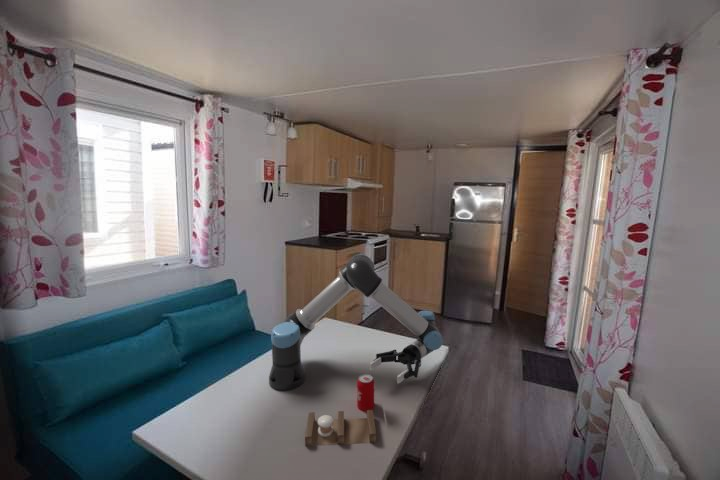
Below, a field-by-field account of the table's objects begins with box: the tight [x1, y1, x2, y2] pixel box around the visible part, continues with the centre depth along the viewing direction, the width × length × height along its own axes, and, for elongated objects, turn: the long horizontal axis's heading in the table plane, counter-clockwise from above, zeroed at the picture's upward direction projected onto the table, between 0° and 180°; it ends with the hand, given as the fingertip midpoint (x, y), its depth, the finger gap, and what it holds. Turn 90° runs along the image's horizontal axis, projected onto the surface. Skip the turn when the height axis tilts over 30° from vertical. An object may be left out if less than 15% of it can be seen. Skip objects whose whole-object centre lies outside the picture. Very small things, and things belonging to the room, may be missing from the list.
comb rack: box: [304, 409, 377, 447], centre depth 102 cm, size 22×11×4 cm, turn 93°
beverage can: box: [356, 373, 375, 413], centre depth 114 cm, size 6×6×12 cm
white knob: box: [317, 414, 334, 437], centre depth 101 cm, size 5×5×4 cm
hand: (383, 373), depth 120 cm, fingers open, 13 cm apart
